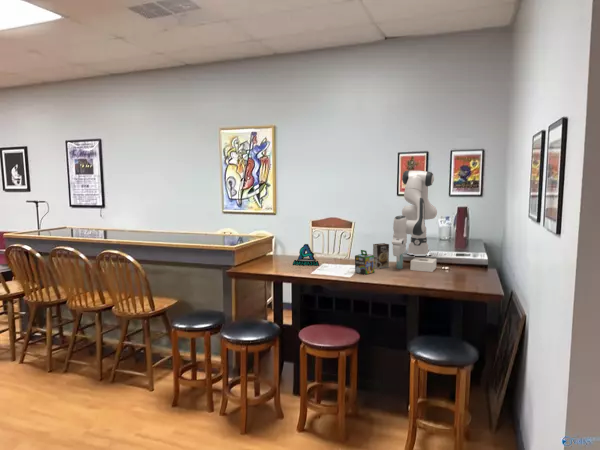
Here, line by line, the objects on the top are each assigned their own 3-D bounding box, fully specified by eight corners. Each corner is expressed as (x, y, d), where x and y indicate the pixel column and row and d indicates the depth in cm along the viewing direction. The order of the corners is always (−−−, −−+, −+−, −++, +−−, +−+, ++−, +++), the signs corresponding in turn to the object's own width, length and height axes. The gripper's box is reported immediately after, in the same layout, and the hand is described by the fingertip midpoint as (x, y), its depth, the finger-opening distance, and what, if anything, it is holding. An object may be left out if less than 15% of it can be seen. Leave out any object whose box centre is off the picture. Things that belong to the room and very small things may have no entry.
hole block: (415, 265, 284) (415, 257, 284) (436, 267, 278) (436, 258, 277) (410, 270, 272) (410, 261, 271) (432, 272, 265) (432, 262, 265)
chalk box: (374, 272, 266) (374, 249, 265) (365, 275, 260) (365, 251, 259) (363, 270, 273) (363, 248, 272) (354, 272, 267) (354, 250, 266)
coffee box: (377, 269, 277) (377, 245, 275) (372, 267, 283) (372, 243, 281) (389, 267, 280) (389, 244, 278) (383, 265, 286) (384, 242, 284)
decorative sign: (319, 265, 291) (319, 244, 289) (318, 266, 289) (318, 244, 287) (293, 264, 296) (293, 243, 294) (292, 265, 293) (292, 244, 292)
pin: (397, 267, 281) (397, 252, 280) (403, 267, 279) (403, 253, 278) (395, 268, 277) (395, 253, 276) (401, 268, 276) (401, 254, 274)
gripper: (399, 237, 287) (398, 257, 288) (391, 242, 269) (390, 263, 270) (408, 238, 284) (408, 258, 285) (400, 242, 266) (400, 263, 267)
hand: (399, 260), depth 278 cm, fingers open, 4 cm apart
